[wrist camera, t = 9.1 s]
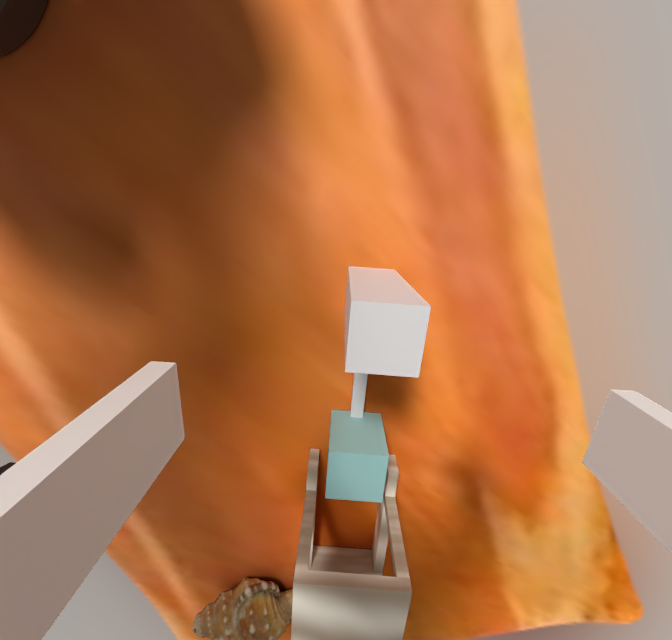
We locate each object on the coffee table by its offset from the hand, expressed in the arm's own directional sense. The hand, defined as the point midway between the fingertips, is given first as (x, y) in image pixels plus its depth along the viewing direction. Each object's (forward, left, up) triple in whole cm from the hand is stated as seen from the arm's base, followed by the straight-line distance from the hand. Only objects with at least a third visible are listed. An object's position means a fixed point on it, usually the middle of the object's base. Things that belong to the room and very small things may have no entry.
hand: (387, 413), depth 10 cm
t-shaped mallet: (+8, +1, -19) cm, 20 cm away
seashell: (+40, -9, -19) cm, 45 cm away
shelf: (+25, +1, -19) cm, 31 cm away
